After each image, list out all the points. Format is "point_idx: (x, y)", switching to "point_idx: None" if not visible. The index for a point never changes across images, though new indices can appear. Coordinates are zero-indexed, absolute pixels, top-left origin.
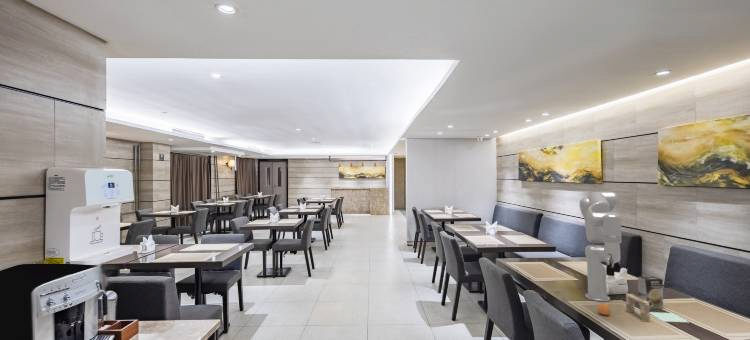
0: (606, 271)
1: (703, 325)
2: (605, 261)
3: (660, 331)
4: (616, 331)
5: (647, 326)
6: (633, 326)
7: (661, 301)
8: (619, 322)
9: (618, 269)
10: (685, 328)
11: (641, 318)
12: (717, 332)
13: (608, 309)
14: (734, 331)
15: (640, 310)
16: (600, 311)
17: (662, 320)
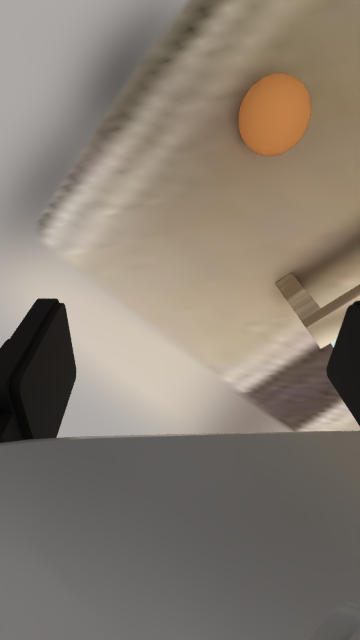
0: (20, 325)
1: None
2: (35, 454)
3: (198, 341)
4: (58, 230)
5: (222, 304)
6: (181, 267)
7: None
8: (190, 212)
9: (346, 392)
10: (287, 384)
11: (289, 279)
12: None
13: (256, 150)
14: None
15: (306, 292)
16: (242, 101)
17: None
